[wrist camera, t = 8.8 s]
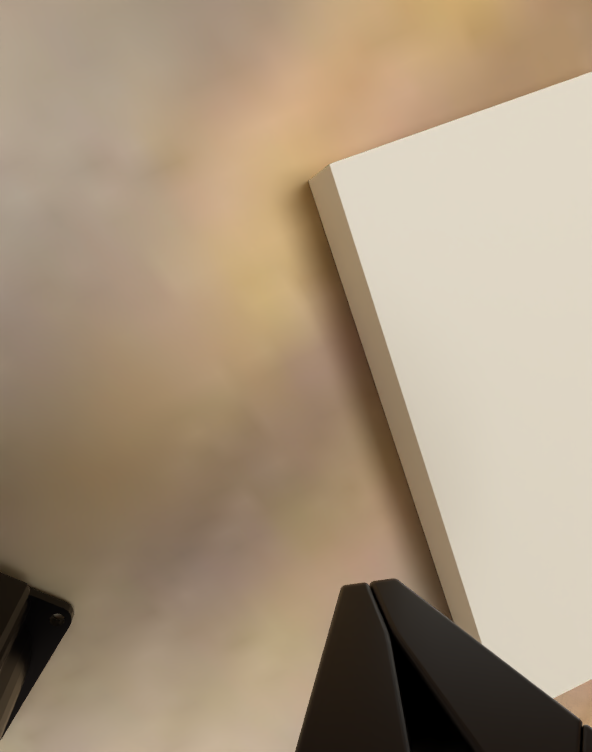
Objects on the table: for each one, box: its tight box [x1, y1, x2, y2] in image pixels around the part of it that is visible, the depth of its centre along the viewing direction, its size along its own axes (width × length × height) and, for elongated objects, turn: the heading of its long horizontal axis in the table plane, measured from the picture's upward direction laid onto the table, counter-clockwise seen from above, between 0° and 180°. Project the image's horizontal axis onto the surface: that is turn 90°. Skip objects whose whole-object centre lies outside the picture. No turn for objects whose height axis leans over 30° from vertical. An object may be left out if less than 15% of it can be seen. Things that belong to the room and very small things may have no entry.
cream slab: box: [308, 72, 592, 698], centre depth 21 cm, size 14×22×3 cm, turn 20°
